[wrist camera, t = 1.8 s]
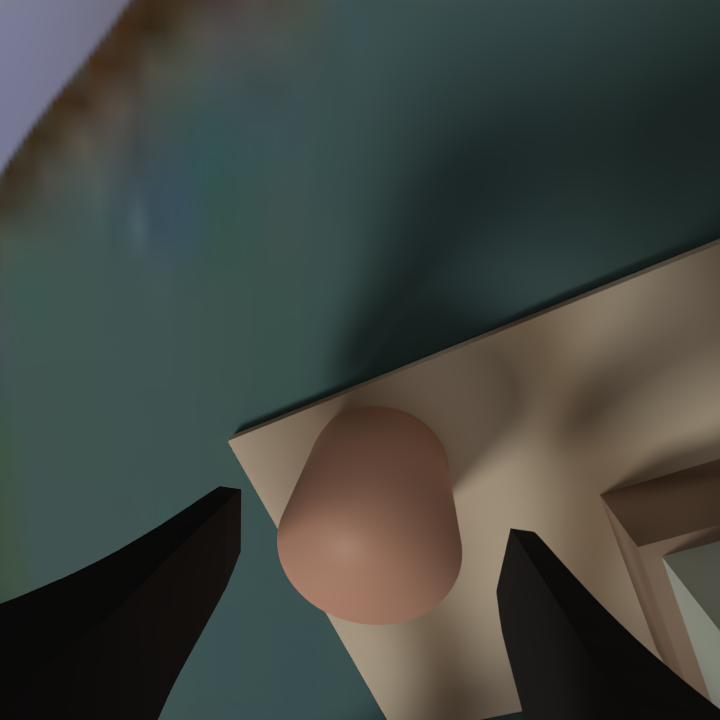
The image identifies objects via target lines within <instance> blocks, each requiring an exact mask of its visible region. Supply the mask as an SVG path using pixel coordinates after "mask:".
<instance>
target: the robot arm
mask: <svg viewBox="0 0 720 720" xmlns="http://www.w3.org/2000/svg"><path fill="white" fill-rule="evenodd" d="M240 552H241V489H235V488H228V487H221V486H219V487H218V488H216V489H214V490H213V491H211V492H210V493H208V494H207V495H205V496H204V497H202V498H201V499H199V500H198V501H196V502H195V503H193V504H192V505H190V506H189V507H187V508H186V509H184V510H183V511H181V512H180V513H178V514H177V515H175V516H174V517H172V518H171V519H169V520H168V521H166V522H165V523H163V524H161V525H160V526H158V527H157V528H155V529H153V530H152V531H150V532H148V533H147V534H145V535H143V536H142V537H140V538H138V539H137V540H135V541H133V542H132V543H130V544H128V545H126V546H125V547H123V548H121V549H120V550H118V551H116V552H114V553H112V554H111V555H109V556H107V557H105V558H103V559H101V560H99V561H97V562H95V563H93V564H91V565H89V566H87V567H85V568H83V569H81V570H79V571H77V572H75V573H73V574H71V575H68V576H66V577H64V578H62V579H59V580H57V581H55V582H52V583H50V584H48V585H45V586H43V587H41V588H38V589H36V590H34V591H31V592H29V593H27V594H24V595H22V596H20V597H17V598H14V599H12V600H9V601H7V602H4V603H1V604H0V720H158V718H159V716H160V713H161V711H162V709H163V707H164V704H165V702H166V700H167V698H168V695H169V693H170V691H171V689H172V687H173V685H174V683H175V681H176V679H177V677H178V675H179V673H180V671H181V669H182V668H183V666H184V664H185V662H186V660H187V658H188V657H189V655H190V653H191V651H192V649H193V648H194V646H195V644H196V642H197V640H198V638H199V637H200V635H201V633H202V631H203V629H204V628H205V626H206V624H207V622H208V620H209V618H210V617H211V615H212V613H213V611H214V609H215V607H216V606H217V604H218V602H219V600H220V598H221V596H222V594H223V592H224V591H225V589H226V587H227V584H228V582H229V579H230V577H231V575H232V572H233V570H234V567H235V564H236V562H237V559H238V557H239V554H240ZM496 594H497V602H498V610H499V617H500V623H501V630H502V635H503V639H504V643H505V647H506V651H507V655H508V659H509V662H510V666H511V670H512V674H513V678H514V681H515V685H516V689H517V693H518V697H519V700H520V704H521V708H522V712H523V715H524V719H525V720H720V709H719V708H718V707H717V706H715V705H714V704H713V703H712V702H710V701H709V700H708V699H706V698H705V697H704V696H703V695H701V694H700V693H699V692H697V691H696V690H695V689H694V688H693V687H691V686H690V685H689V684H688V683H686V682H685V681H684V680H683V679H682V678H680V677H679V676H678V675H677V674H676V673H674V672H673V671H672V670H671V669H670V668H669V667H668V666H666V665H665V664H664V663H663V662H662V661H661V660H660V659H658V658H657V657H656V656H655V655H654V654H653V653H651V652H650V651H649V650H648V649H647V648H646V647H645V646H644V645H643V644H641V643H640V642H639V641H638V640H637V639H636V638H635V637H634V636H633V635H632V634H631V633H630V632H629V631H628V630H627V629H626V628H625V627H624V626H623V625H622V624H620V623H619V622H618V621H617V620H616V619H615V618H614V617H613V616H612V615H611V614H610V613H609V612H608V611H607V610H606V609H605V608H604V607H603V606H602V605H601V604H600V603H599V602H598V600H597V599H596V598H595V597H594V596H593V595H592V594H591V593H590V592H589V591H588V590H587V589H586V588H585V587H584V586H583V585H582V584H581V582H580V581H579V580H578V579H577V578H576V577H575V576H574V575H573V574H572V573H571V571H570V570H569V569H568V568H567V567H566V566H565V565H564V564H563V563H562V561H561V560H560V559H559V558H558V557H557V556H556V555H555V554H554V552H553V551H552V550H551V549H550V548H549V547H548V546H547V545H546V543H545V542H544V541H543V540H542V539H541V538H540V537H539V536H538V535H537V534H536V533H535V532H533V531H526V530H519V529H512V528H510V533H509V537H508V541H507V546H506V550H505V555H504V559H503V563H502V568H501V572H500V576H499V581H498V585H497V589H496Z"/></svg>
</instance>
